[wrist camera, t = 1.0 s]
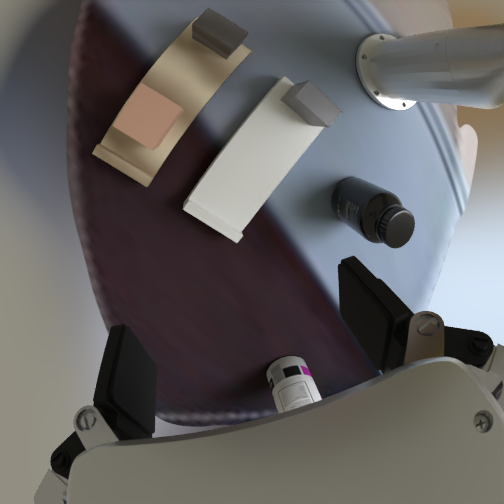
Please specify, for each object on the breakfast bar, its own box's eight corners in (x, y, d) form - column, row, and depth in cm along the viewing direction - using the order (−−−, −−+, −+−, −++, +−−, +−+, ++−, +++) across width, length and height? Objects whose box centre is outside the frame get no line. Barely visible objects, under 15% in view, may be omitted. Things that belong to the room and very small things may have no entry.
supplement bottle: (351, 227, 40) (398, 265, 30) (321, 205, 38) (367, 240, 27) (375, 192, 38) (428, 220, 28) (347, 167, 36) (401, 189, 25)
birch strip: (197, 21, 23) (198, 0, 17) (248, 54, 26) (261, 39, 20) (100, 150, 28) (79, 158, 22) (150, 182, 31) (141, 195, 25)
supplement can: (310, 355, 52) (338, 413, 39) (292, 379, 55) (314, 435, 42) (276, 351, 50) (300, 416, 36) (259, 377, 52) (277, 438, 39)
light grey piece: (280, 78, 28) (299, 69, 23) (325, 118, 32) (352, 119, 26) (183, 202, 33) (181, 220, 28) (233, 234, 37) (242, 257, 31)
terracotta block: (149, 88, 25) (141, 82, 20) (184, 110, 27) (182, 107, 22) (124, 125, 26) (112, 125, 22) (158, 146, 28) (152, 150, 24)
